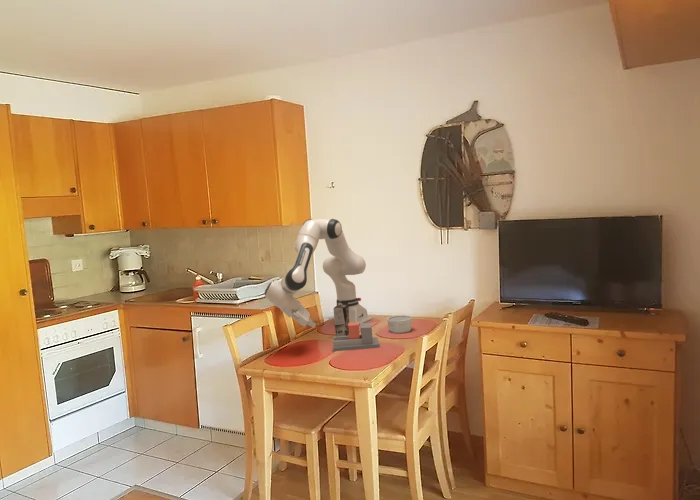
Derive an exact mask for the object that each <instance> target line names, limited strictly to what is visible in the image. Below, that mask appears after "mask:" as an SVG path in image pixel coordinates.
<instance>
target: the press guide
mask: <svg viewBox="0 0 700 500" xmlns="http://www.w3.org/2000/svg"><path fill="white" fill-rule="evenodd" d="M359 326H360V339H351V340H349V336H339V337H336V336H333V337H332V348H333V349H332V351H333V352H339V351H341V352H342V351H351V350H362V349H375V348H377V349H378V348H380V347H381V346H380V341H379V337H377V336H374V337H373V327H372V324H371V322H364V323H361V324H359Z"/></svg>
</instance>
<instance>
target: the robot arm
mask: <svg viewBox="0 0 700 500" xmlns="http://www.w3.org/2000/svg"><path fill="white" fill-rule="evenodd" d="M342 228H343V227H342V223H341V222H340V221H339V220H338V219H335V218H325V217H323V218H322V217H321V218H308V219H306V220H304V222H303V223H302V225H301V228H300V230H299V232H298V233H297V237H296V239H295V243H294V251H295V252H296V253H297V257H296V260H295V262H294V265H293V266H292V268H291V269H289V271H288V272H287V273H286V275H284V276H283V277H282V278H280V279H277V280H274V281H271V282H269V283H268V285H267V287H266V288H265V289H264V296H265V298H266V299H267V300H268V301H269V302H270V303H271V304H272V305H274V306H275V307H277V308H278V309H280V311H281V312H282V313H283V314H284V315H286V316H287V317H288V318H291V317H292V318H293V320H294V321H296V322H297V324H299V325H300V326H301V327H303V328H305V327H306V326H307V325H308V326H309V327H311V328H312V329H315V327H316V326H317V325H316V323H315V322H314V321H313V320H312V319H311V313H310V311H309V310H307V308H306V307H305V306H304V305H302V303H301V302H300V300H298V299H297V298H295V297H294V295H295V294H296V293H298V292H299V291H300V290H301V289H303V288H304V287H305V286H306V284H307V282H308V281H307V280H308V279H307V278H308V276H307V275H308V273H307V271H308V267H309V264H310V260H311V257H312V256H313V255H314V252H315V251H316V249H317V246H318V245H319V240H324V242H325V245H326V248H327V251H328V253H329V254H330V255H331V256H328V257H326V258H324V260H323V262H322V269H323V272H324V273H325V274H326V275H327V276H329V278H330V279H331V280H332V282H333V284H334V286H335V291H336V301H335V303H336V306H337V305H347V304H348V308H349V320H350V323H355V322H358V323H359V325H360V324H361V323H367V322H368V321H370V320H373V318H372V316H370V315H369V314H368V310H367V309H366V308H365V307H364V306H362V305H361V304H360V302H361V301H362V298H361V297H357V292H356V284H354V282H353V281H350V280H349V279H348V278H347V276H356V275H360V274H363V273H364V272H365V271H366V266H367V264H366V260H365V259H364V257H363V256H361V255H359V254H357V253H355V252H354V251H353V250H352V249H351V248H350V247H349V244H348V242H347V239H346V237H345V233H344V231H343V229H342Z"/></svg>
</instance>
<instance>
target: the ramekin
mask: <svg viewBox="0 0 700 500" xmlns="http://www.w3.org/2000/svg"><path fill="white" fill-rule="evenodd" d="M387 324H388V329H389V331H390V333H394V334H404V333H405V332H406V333H409V332H410V331H411V330H412V328H413V327H412V325H413V316H411V315H406V314H405V315H404V314H402V315H393V316H388V317H387Z"/></svg>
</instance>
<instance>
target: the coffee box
mask: <svg viewBox="0 0 700 500" xmlns="http://www.w3.org/2000/svg"><path fill="white" fill-rule="evenodd" d="M333 318H334V319H333V320H334V321H333V322H334V333H335V335H334V336H335V337H339V336H349V327H348V323H350V320H349V308H348V304H347V305H337V304H336V306H334V307H333Z"/></svg>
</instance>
